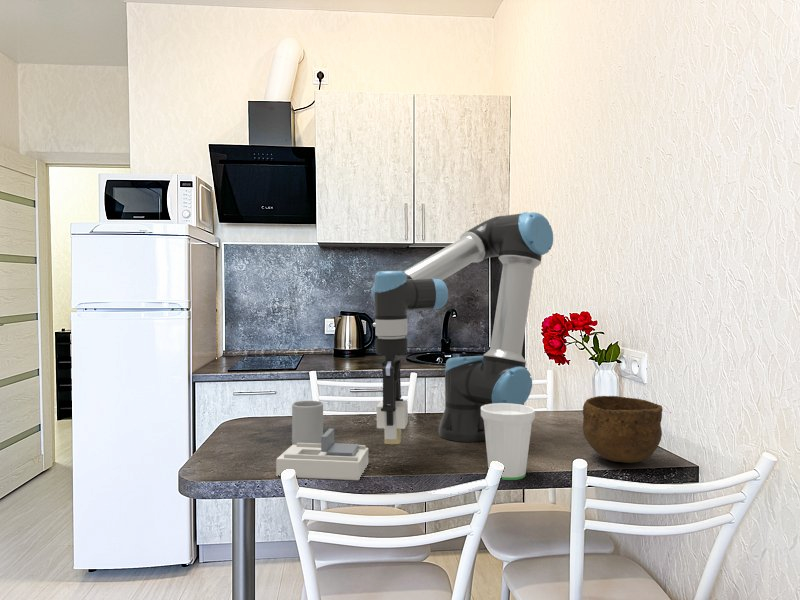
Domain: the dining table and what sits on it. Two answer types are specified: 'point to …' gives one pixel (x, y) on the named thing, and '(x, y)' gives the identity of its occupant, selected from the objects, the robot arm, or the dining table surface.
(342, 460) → the cream railed base block
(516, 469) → the cup
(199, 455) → the dining table surface
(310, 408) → the mug
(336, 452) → the grey l-shaped bracket
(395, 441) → the plug
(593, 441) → the bowl
